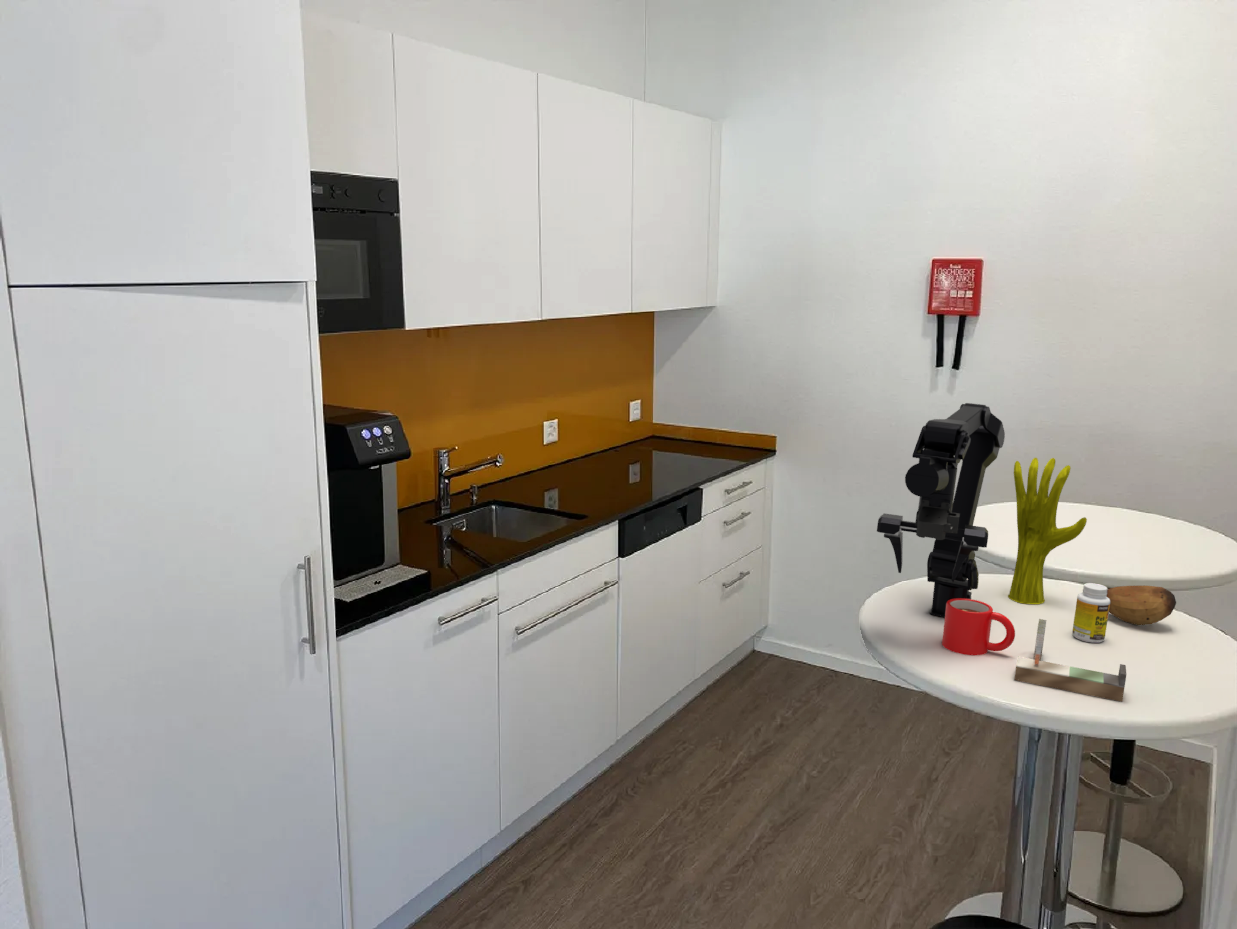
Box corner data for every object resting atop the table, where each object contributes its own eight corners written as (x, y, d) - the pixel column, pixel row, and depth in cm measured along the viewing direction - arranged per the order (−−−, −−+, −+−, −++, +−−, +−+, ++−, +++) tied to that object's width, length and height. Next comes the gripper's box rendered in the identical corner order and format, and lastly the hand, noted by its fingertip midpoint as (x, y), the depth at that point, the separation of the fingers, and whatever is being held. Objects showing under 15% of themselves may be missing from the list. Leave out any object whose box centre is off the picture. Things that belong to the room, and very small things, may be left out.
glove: (992, 596, 200) (1009, 456, 194) (1005, 587, 207) (1022, 451, 201) (1067, 614, 191) (1087, 468, 185) (1078, 605, 197) (1098, 462, 191)
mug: (1009, 664, 165) (1014, 621, 163) (938, 649, 171) (942, 607, 169) (1015, 649, 172) (1020, 608, 170) (946, 635, 177) (950, 595, 176)
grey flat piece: (1030, 679, 158) (1034, 644, 157) (1034, 650, 171) (1039, 618, 170) (1038, 680, 158) (1042, 646, 157) (1042, 652, 170) (1046, 620, 169)
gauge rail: (1014, 680, 158) (1017, 654, 157) (1016, 670, 162) (1019, 645, 161) (1122, 701, 152) (1126, 674, 151) (1121, 691, 156) (1125, 665, 155)
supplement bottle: (1093, 646, 175) (1101, 592, 173) (1065, 636, 179) (1072, 584, 177) (1110, 640, 178) (1118, 588, 176) (1082, 630, 182) (1089, 579, 180)
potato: (1101, 633, 190) (1104, 602, 195) (1179, 634, 182) (1180, 602, 188) (1094, 608, 187) (1097, 578, 192) (1173, 609, 179) (1174, 577, 184)
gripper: (879, 490, 166) (868, 577, 168) (993, 505, 160) (981, 595, 162) (885, 482, 176) (874, 565, 178) (992, 496, 170) (980, 581, 172)
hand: (926, 576), depth 172 cm, fingers open, 9 cm apart
